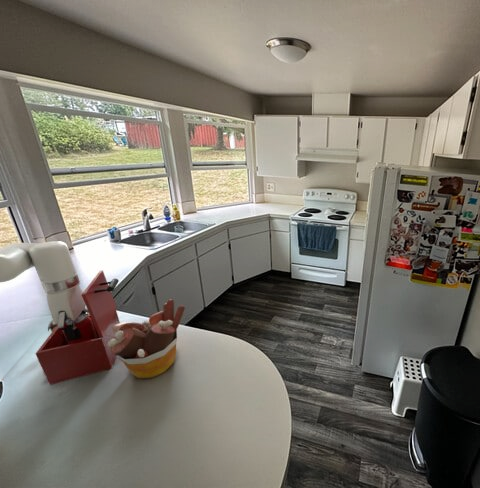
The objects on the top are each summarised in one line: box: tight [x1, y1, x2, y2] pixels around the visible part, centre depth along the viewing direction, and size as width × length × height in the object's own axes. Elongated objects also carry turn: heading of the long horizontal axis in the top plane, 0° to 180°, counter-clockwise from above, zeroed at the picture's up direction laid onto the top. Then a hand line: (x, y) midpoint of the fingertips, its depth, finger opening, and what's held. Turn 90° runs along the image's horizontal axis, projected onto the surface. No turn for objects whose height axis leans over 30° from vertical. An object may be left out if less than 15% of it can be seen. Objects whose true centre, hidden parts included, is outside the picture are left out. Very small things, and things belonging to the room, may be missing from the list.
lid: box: [82, 270, 120, 338], centre depth 81 cm, size 15×17×6 cm
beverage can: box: [63, 314, 97, 345], centre depth 80 cm, size 7×7×12 cm
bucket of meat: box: [108, 298, 186, 379], centre depth 79 cm, size 20×16×20 cm
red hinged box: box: [35, 310, 121, 386], centre depth 82 cm, size 15×17×12 cm
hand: (79, 331), depth 80 cm, fingers closed on beverage can, 6 cm apart
